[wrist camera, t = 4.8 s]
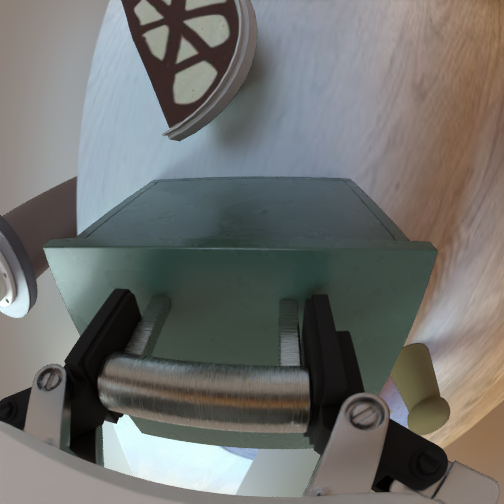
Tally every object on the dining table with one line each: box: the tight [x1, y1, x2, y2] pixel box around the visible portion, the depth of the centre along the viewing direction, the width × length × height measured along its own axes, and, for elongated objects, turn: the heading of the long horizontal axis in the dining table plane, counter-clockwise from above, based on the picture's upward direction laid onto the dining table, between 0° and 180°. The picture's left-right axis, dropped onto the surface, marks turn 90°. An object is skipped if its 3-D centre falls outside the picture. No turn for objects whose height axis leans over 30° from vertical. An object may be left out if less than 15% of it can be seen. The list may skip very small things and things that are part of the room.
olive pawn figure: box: [390, 343, 450, 435], centre depth 27 cm, size 6×6×11 cm
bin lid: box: [43, 238, 438, 449], centre depth 12 cm, size 17×17×6 cm
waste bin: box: [74, 177, 410, 241], centre depth 21 cm, size 17×17×13 cm
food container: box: [121, 0, 257, 141], centre depth 14 cm, size 12×6×10 cm, turn 20°
